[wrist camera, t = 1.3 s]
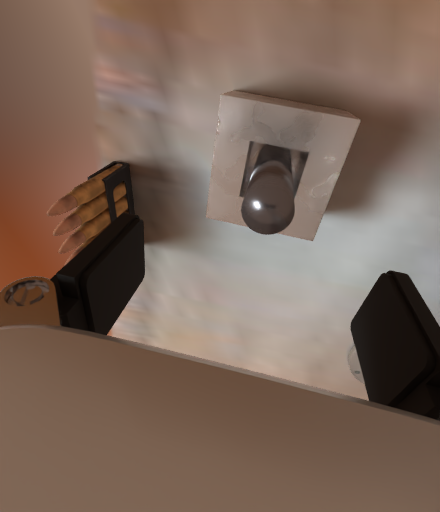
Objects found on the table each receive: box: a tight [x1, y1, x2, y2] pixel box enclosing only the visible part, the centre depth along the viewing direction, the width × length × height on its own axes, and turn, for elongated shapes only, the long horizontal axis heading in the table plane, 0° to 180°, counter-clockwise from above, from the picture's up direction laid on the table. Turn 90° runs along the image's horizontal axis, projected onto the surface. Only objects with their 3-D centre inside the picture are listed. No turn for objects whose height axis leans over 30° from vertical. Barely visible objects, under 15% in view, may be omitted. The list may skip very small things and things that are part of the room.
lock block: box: [206, 90, 361, 241], centre depth 25 cm, size 10×10×6 cm
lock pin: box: [241, 144, 295, 234], centre depth 21 cm, size 3×3×12 cm
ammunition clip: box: [47, 161, 135, 265], centre depth 29 cm, size 11×2×12 cm, turn 176°
